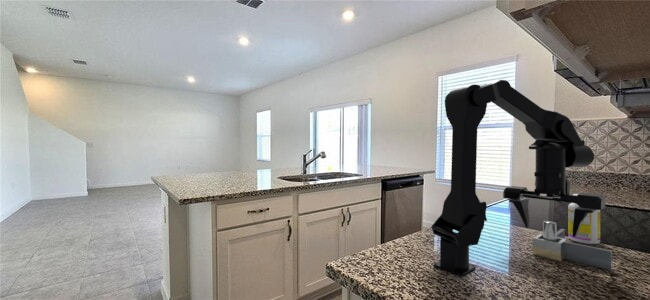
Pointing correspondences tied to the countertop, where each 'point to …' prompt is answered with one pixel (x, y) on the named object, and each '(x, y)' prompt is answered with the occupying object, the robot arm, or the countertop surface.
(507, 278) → the countertop surface
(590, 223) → the supplement bottle
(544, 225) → the hinge pin
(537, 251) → the hinge
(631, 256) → the countertop surface
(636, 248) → the countertop surface
